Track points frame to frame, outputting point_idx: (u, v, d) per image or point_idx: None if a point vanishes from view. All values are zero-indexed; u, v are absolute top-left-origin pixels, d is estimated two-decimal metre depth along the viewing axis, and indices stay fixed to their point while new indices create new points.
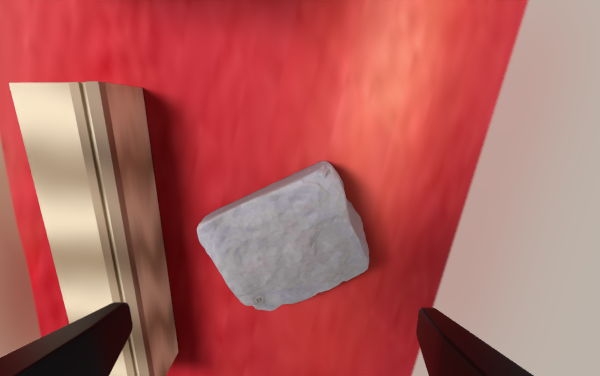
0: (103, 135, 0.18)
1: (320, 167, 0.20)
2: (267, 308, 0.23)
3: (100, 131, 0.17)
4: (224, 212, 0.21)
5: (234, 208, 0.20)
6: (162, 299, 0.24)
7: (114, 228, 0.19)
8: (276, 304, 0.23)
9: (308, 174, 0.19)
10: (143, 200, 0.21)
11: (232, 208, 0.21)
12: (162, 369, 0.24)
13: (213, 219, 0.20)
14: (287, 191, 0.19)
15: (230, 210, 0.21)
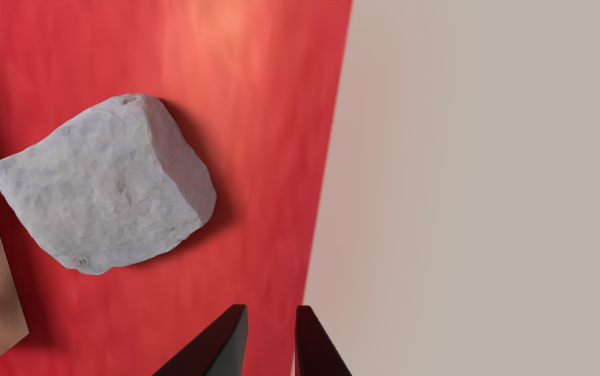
0: None
1: (124, 95, 0.16)
2: (93, 272, 0.20)
3: None
4: (20, 152, 0.17)
5: (29, 147, 0.17)
6: None
7: None
8: (104, 267, 0.19)
9: None
10: None
11: None
12: None
13: (2, 160, 0.17)
14: (77, 121, 0.16)
15: (25, 150, 0.17)
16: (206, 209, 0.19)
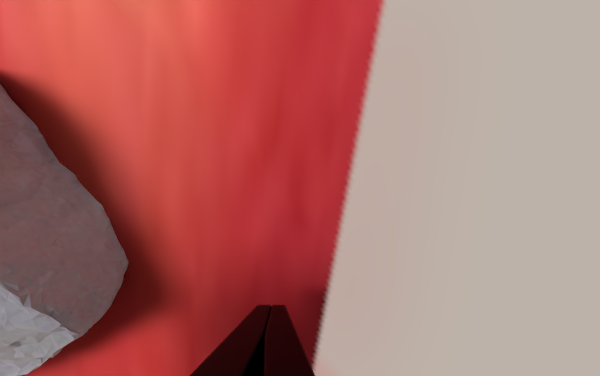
0: None
1: None
2: None
3: None
4: None
5: None
6: None
7: None
8: None
9: None
10: None
11: None
12: None
13: None
14: None
15: None
16: (90, 300, 0.09)
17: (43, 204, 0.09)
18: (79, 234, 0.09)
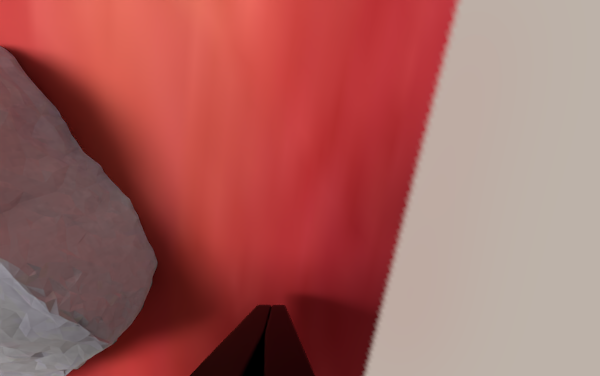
0: None
1: None
2: None
3: None
4: None
5: None
6: None
7: None
8: None
9: None
10: None
11: None
12: None
13: None
14: None
15: None
16: (121, 305, 0.08)
17: (68, 197, 0.08)
18: (107, 231, 0.08)
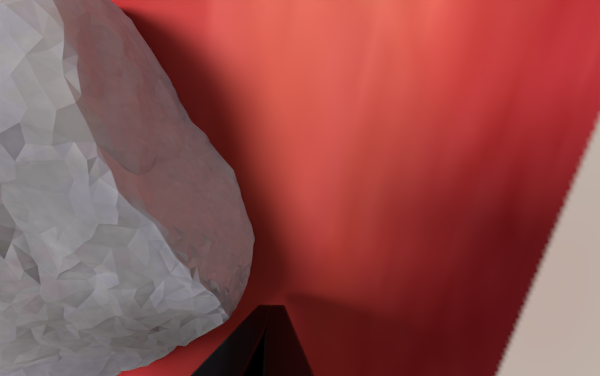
0: None
1: None
2: None
3: None
4: None
5: None
6: None
7: None
8: None
9: None
10: None
11: None
12: None
13: None
14: None
15: None
16: (238, 278, 0.08)
17: (188, 165, 0.07)
18: (221, 202, 0.08)
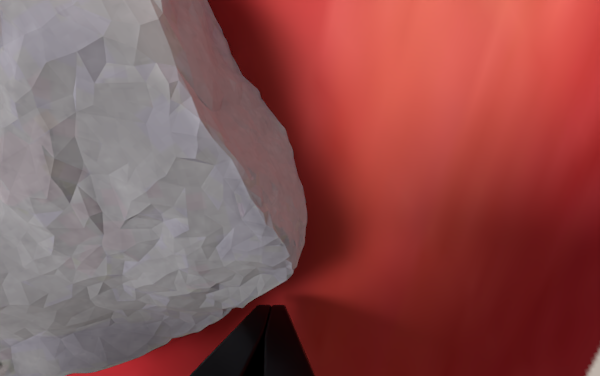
0: None
1: None
2: None
3: None
4: None
5: None
6: None
7: None
8: (46, 375, 0.08)
9: None
10: None
11: None
12: None
13: None
14: None
15: None
16: (299, 234, 0.07)
17: (248, 114, 0.07)
18: (279, 156, 0.08)
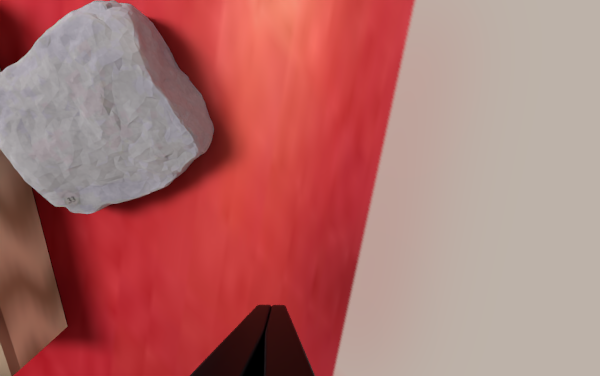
0: None
1: (108, 1, 0.15)
2: (84, 210, 0.18)
3: None
4: None
5: (8, 66, 0.16)
6: (31, 260, 0.21)
7: None
8: (95, 205, 0.18)
9: None
10: None
11: None
12: (32, 343, 0.21)
13: None
14: (57, 28, 0.14)
15: (4, 70, 0.16)
16: (202, 136, 0.17)
17: (179, 85, 0.17)
18: (194, 104, 0.18)
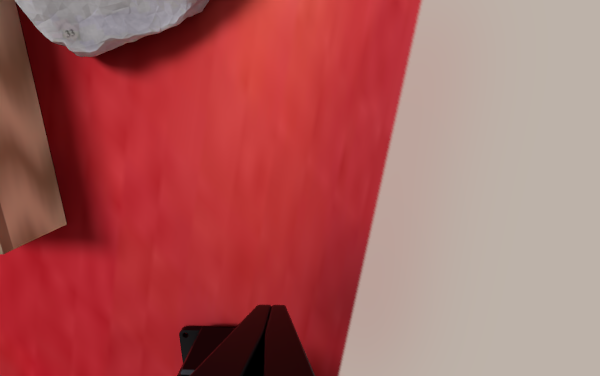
0: None
1: None
2: (85, 47, 0.16)
3: None
4: None
5: None
6: (26, 132, 0.18)
7: None
8: (97, 40, 0.16)
9: None
10: None
11: None
12: (26, 226, 0.18)
13: None
14: None
15: None
16: None
17: None
18: None
